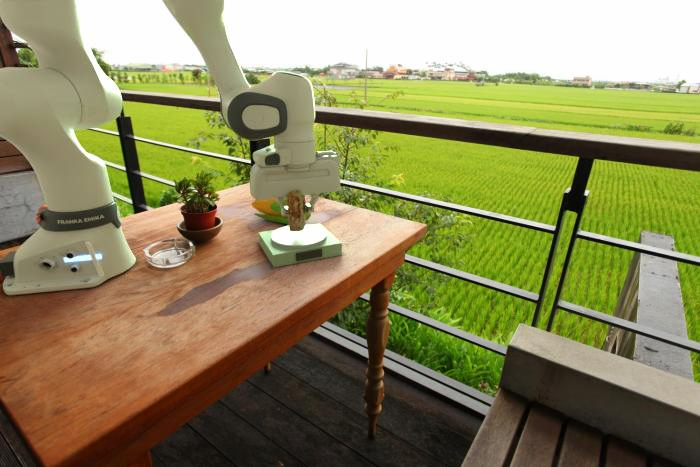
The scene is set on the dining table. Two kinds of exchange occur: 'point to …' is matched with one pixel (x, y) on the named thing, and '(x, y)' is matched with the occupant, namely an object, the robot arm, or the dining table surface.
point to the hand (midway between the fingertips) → (297, 213)
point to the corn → (272, 210)
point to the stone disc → (296, 210)
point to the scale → (299, 244)
